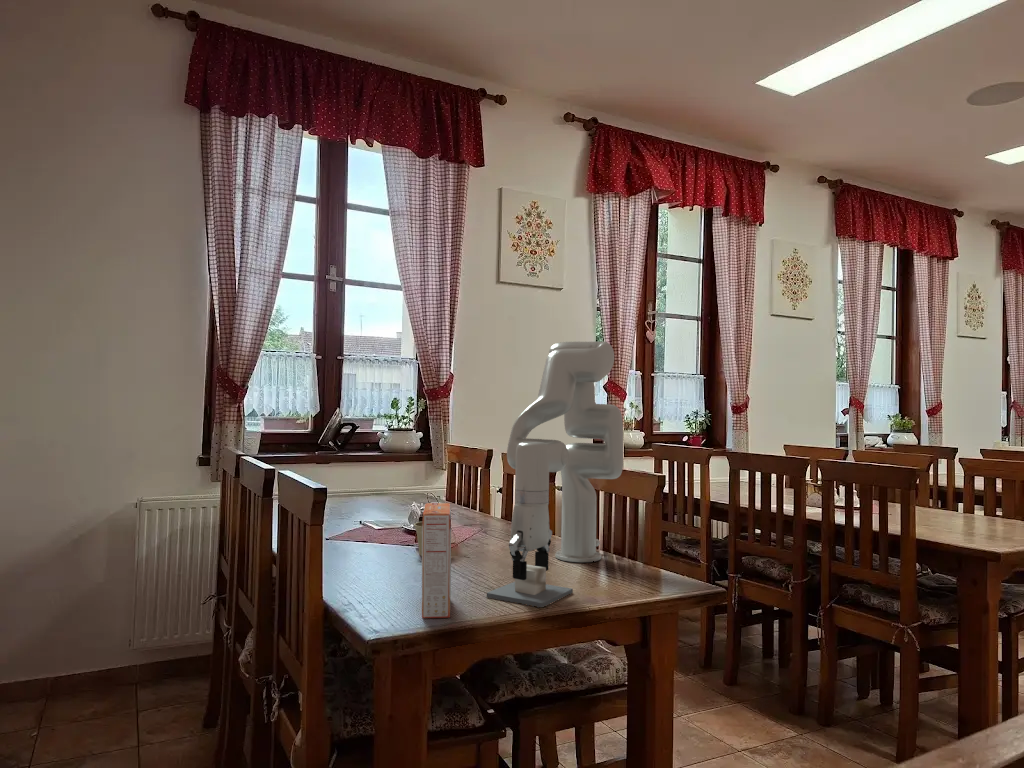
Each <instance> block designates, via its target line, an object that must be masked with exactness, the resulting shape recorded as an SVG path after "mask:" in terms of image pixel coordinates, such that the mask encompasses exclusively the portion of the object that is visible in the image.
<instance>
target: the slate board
mask: <svg viewBox="0 0 1024 768" xmlns="http://www.w3.org/2000/svg"><path fill="white" fill-rule="evenodd" d="M573 589H574V588H571V587H564V586H559V585H554V584H548V583H546V590H544V591H542V592H540V593H538V594H536V595H532V594H526V593H521V592H515V581H513V582H511V583H507V584H505V585H503V586H500V587H498V588H495V589H492V590H490V591H487V592H486V598H487V597H488V599H493V600H500V601H503V600H504V602H508V601H510V602H509V603H513V602H517V603H516V604H518V603H522V604H521V605H524V604H527V605H526V606H529V605H532V606H531V607H534V606H537V607H536V608H539V607H544V606H546V605H548V604H550V603H552V602H554V601H556V600H558V599H560V598H562V597H564V596H566V595H568V594H570V595H572V594H574V593H573V591H574V590H573ZM571 593H572V594H571ZM568 596H569V595H568ZM566 597H567V596H566ZM564 598H565V597H564ZM562 599H563V598H562ZM560 600H561V599H560ZM558 601H559V600H558ZM556 602H557V601H556ZM554 603H555V602H554ZM552 604H553V603H552ZM550 605H551V604H550ZM548 606H549V605H548ZM546 607H547V606H546ZM544 608H545V607H544Z"/></svg>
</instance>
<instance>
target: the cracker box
mask: <svg viewBox="0 0 1024 768" xmlns="http://www.w3.org/2000/svg"><path fill="white" fill-rule="evenodd" d="M451 508H452V507H451V503H448V502H447V503H446V502H445V503H443V502H441V503H440V502H427V503H424V507H423V512H422V521H421V522H422V556H421V617H422V619H447V618H449V619H450V618H451V594H452V593H451V590H452V589H451V584H452V581H451V579H452V576H451V575H452V567H451V566H452V510H451Z"/></svg>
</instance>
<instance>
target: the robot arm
mask: <svg viewBox="0 0 1024 768" xmlns="http://www.w3.org/2000/svg"><path fill="white" fill-rule="evenodd" d="M614 362H615V351H614V349H613V346H612V345H611V344H610V343H609V342H606V341H561V342H556V343H554V344H553V345H551V346H550V348H549V351H548V355H547V357H546V359H545V364H544V368H543V372H542V375H541V376H542V378H541V381H540V385H539V390H538V395H537V397H536V400H534V402H532V403H531V404H529V406H527V407H525V409H524V410H523V411H522V412H521V413H520V414H519V415H518V417H517V418H515V419H516V420H515V421H514V423H513V425H512V426H511V427H512V428H511V431H510V435H509V440H508V443H507V448H506V459H507V463H508V465H509V466H510V467H511V469H513V470H515V480H514V481H515V482H514V483H515V484H514V486H515V487H514V488H515V491H514V506H513V511H512V517H511V526H510V527H511V529H510V540H509V542H508V549H509V554H510V556H511V561H512V578H513V579H514V580H515V579H520V580H526V576H527V565H528V563H527V561H526V558H527V556H528V553H529V552H532V551H535V550H536V551H535V553H534V558H535V559H534V566H540V567H546V572H547V571H549V557H550V556H549V553H550V550H551V549H550V545H552V544H551V542H552V540H551V539H552V535H553V530H552V529H550V515H549V514H550V513H549V504H550V502H549V501H550V499H549V498H550V496H549V495H550V494H549V493H550V473H557V472H560V476H561V528H560V530H561V532H560V535H561V537H560V538H561V541H560V542H561V543H560V550H557V551H556V552H555V554H554V555H555V558H556V559H558V560H561V561H563V562H564V561H565V562H569V563H593V561H594V562H598V561H600V560H601V559H602V554H601V552H599V551H596V550H597V547H598V546H600V545H601V542H600V541H601V540H599V539H598V538H597V492H596V490H595V488H594V486H593V485H592V484H591V482H590V479H598V480H616V479H618V478H619V477H621V475H622V472H623V469H624V421H623V415H622V412H621V410H620V408H619V407H618V406H617V405H614V404H610V403H609V404H606V403H597V402H596V399H595V398H596V394H595V393H596V392H595V390H596V388H595V387H596V386H595V383H599V382H600V381H602V380H603V379H604V378H605V377H606V376H607V375H608V374H609V373H610V372H611V371H612V369H613V367H614V364H615V363H614ZM561 416H563V419H564V422H563V423H564V431H565V433H566V434H567V436H569V437H572V438H575V439H593V440H602V441H604V443H593V442H572V443H567V444H565V443H564V442H563V441H560V440H557V439H545V438H529V437H528V436H529V434H530V433H531V432H532V430H534V429H535V428H536V427H538V426H540V425H541V424H544V423H546V422H549V421H552V420H554V419H556V418H559V417H561ZM527 437H528V438H527ZM521 552H522V553H521Z"/></svg>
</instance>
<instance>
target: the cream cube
mask: <svg viewBox="0 0 1024 768" xmlns="http://www.w3.org/2000/svg"><path fill="white" fill-rule="evenodd" d="M514 582H515V592H521V593H526V594H532V595H536V594H538V593H540V592H542V591H544V590H546V584H547V583H546V582H547V571H546V567H540V566H535V565H532V564H527V576H526V580H520V579H514Z"/></svg>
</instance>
